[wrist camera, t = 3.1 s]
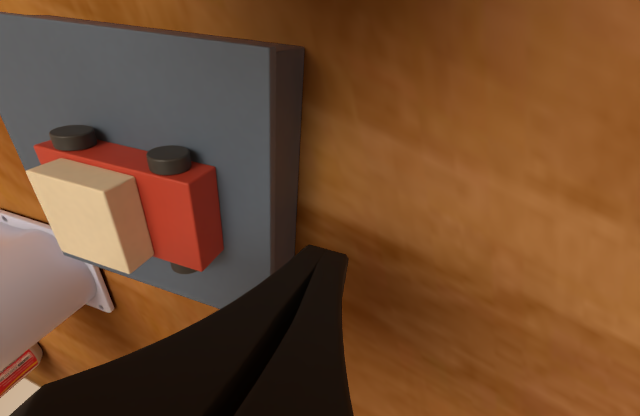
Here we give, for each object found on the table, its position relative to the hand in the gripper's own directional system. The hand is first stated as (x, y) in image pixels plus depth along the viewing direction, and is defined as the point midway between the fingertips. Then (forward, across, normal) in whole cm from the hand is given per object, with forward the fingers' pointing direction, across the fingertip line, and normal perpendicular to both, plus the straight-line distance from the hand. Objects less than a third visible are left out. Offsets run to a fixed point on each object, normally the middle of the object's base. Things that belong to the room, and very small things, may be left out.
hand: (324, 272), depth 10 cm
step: (+5, +10, 0) cm, 11 cm away
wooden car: (+2, +8, 0) cm, 9 cm away
